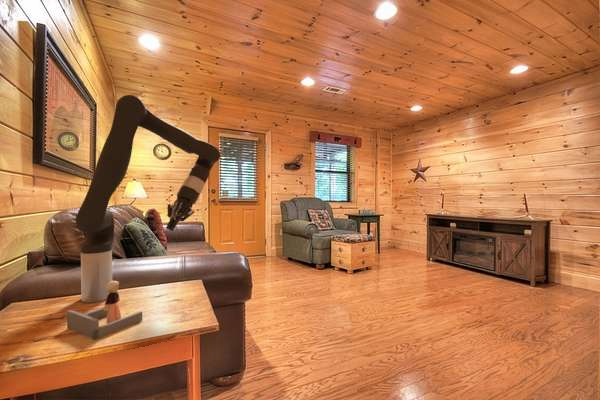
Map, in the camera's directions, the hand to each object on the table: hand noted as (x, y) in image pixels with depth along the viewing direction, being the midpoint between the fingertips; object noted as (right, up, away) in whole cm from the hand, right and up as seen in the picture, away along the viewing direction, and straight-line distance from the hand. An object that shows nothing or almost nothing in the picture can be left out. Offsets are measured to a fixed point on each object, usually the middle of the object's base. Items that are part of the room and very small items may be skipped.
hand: (169, 229), depth 105 cm
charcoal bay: (-8, -25, -22) cm, 34 cm away
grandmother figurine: (-6, -25, -22) cm, 34 cm away
